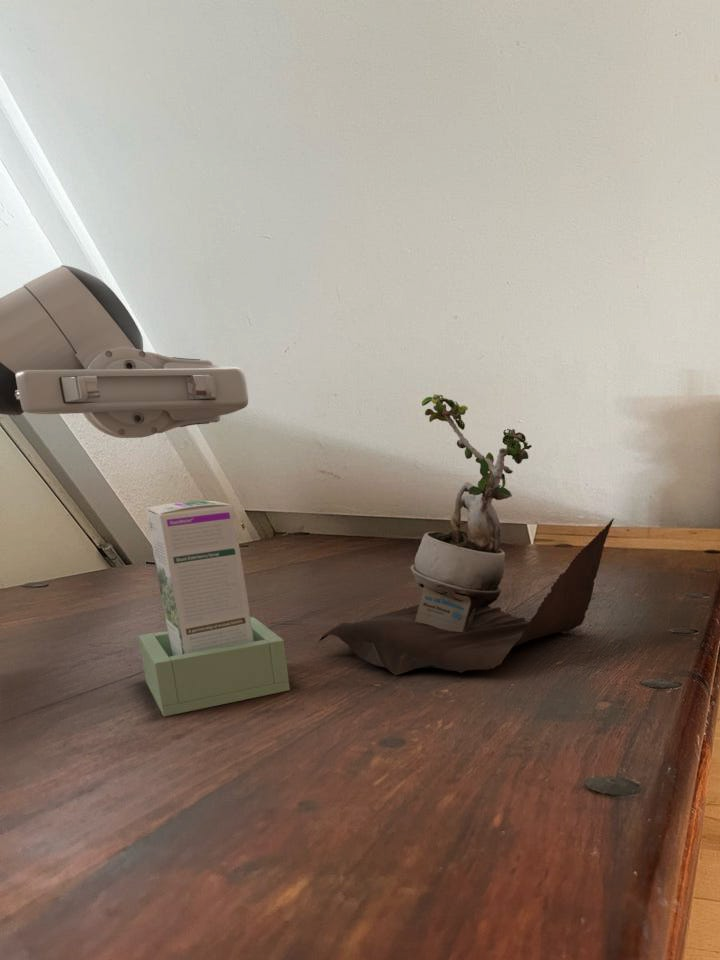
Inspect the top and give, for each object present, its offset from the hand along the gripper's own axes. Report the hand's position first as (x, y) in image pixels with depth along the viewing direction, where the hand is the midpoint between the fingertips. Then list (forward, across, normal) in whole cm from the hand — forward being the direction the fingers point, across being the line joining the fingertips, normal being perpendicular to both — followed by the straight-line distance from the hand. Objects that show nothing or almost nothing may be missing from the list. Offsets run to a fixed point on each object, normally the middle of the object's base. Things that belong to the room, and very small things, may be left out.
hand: (147, 385), depth 68 cm
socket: (+12, 0, +25) cm, 28 cm away
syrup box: (+12, 0, +24) cm, 27 cm away
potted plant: (+14, +23, +25) cm, 37 cm away
